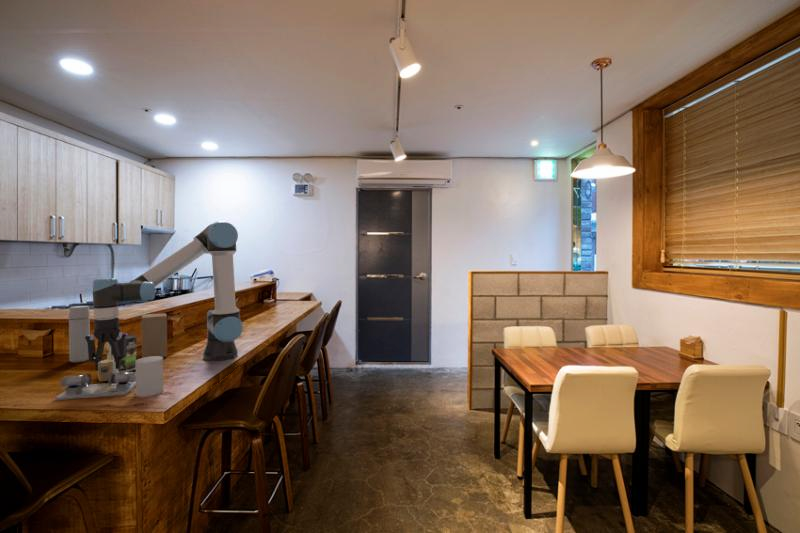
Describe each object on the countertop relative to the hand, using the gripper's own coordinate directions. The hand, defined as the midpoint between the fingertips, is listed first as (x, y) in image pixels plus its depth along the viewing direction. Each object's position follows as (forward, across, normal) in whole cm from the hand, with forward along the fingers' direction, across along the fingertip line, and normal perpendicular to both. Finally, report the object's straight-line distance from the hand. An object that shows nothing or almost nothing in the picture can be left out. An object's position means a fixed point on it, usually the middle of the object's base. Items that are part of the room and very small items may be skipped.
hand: (108, 377), depth 141 cm
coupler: (0, 0, 0) cm, 0 cm away
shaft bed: (+1, -2, +12) cm, 13 cm away
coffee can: (+2, +2, -15) cm, 15 cm away
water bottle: (+1, +26, -35) cm, 44 cm away
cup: (+2, -20, +17) cm, 26 cm away
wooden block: (+2, -4, -36) cm, 36 cm away
